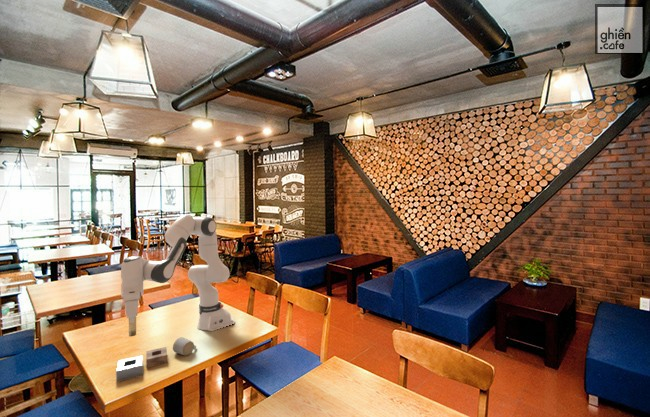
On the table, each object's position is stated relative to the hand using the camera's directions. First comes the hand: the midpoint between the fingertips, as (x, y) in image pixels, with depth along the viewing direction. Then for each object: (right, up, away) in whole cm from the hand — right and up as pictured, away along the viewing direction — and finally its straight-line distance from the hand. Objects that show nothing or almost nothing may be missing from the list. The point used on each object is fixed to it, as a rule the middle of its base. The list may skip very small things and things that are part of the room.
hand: (132, 320), depth 143 cm
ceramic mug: (+16, -24, +20) cm, 35 cm away
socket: (-1, -25, 0) cm, 25 cm away
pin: (0, -7, 0) cm, 7 cm away
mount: (+5, -24, +11) cm, 27 cm away
